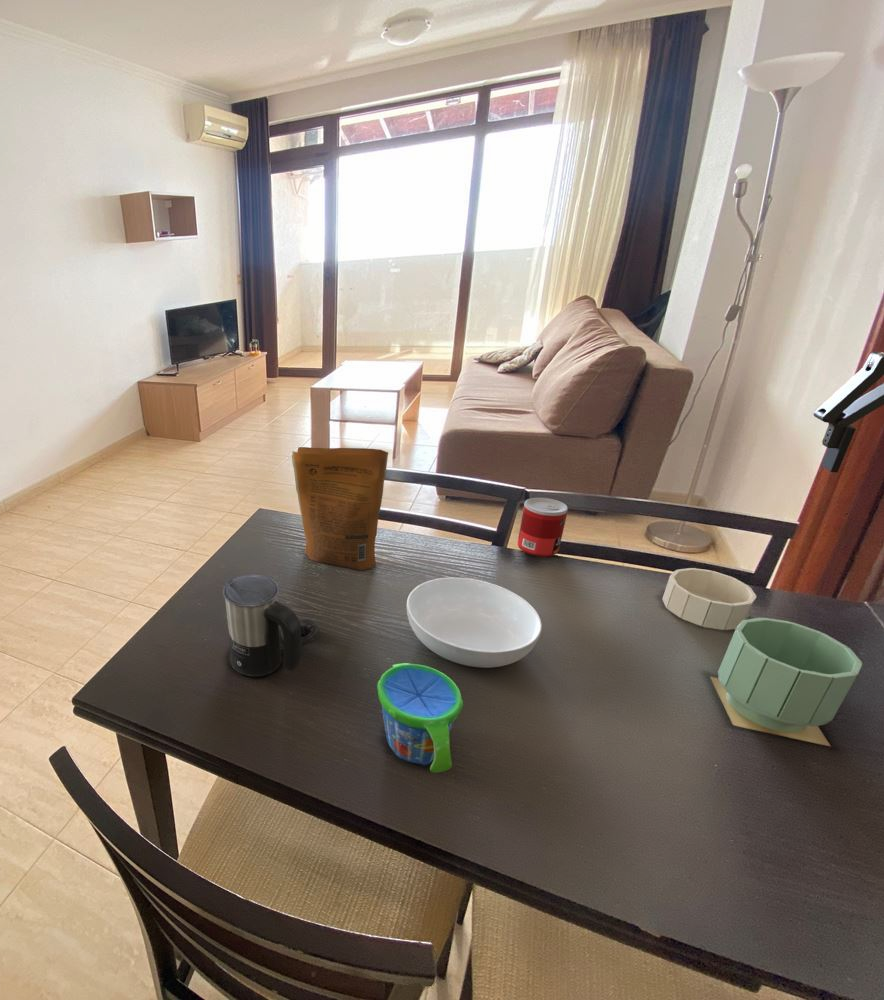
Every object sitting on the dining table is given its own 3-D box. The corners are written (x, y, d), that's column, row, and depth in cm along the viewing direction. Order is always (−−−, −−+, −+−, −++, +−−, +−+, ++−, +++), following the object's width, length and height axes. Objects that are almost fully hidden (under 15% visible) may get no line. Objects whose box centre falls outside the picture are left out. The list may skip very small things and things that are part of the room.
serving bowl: (565, 666, 87) (573, 632, 84) (455, 700, 83) (460, 666, 80) (475, 596, 105) (480, 566, 103) (381, 621, 101) (383, 591, 98)
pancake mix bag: (378, 578, 113) (385, 454, 101) (292, 562, 122) (290, 445, 110) (384, 562, 119) (392, 443, 107) (302, 547, 127) (301, 435, 115)
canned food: (561, 560, 114) (572, 514, 110) (519, 556, 117) (527, 511, 112) (554, 542, 121) (563, 498, 116) (514, 539, 123) (522, 496, 119)
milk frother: (220, 670, 93) (213, 599, 86) (253, 616, 105) (249, 551, 99) (300, 691, 87) (298, 617, 80) (325, 631, 100) (325, 563, 93)
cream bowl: (731, 599, 99) (741, 574, 96) (755, 637, 90) (767, 610, 87) (656, 588, 103) (663, 564, 101) (671, 623, 94) (680, 597, 92)
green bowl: (801, 690, 79) (833, 627, 74) (843, 753, 69) (882, 686, 64) (700, 671, 83) (724, 611, 79) (727, 728, 74) (756, 664, 69)
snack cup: (364, 703, 84) (366, 652, 79) (432, 700, 83) (439, 649, 79) (390, 795, 69) (395, 739, 65) (473, 793, 69) (484, 736, 65)
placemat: (795, 694, 79) (796, 692, 78) (830, 749, 71) (831, 746, 70) (708, 678, 83) (709, 676, 82) (731, 727, 75) (732, 725, 74)
